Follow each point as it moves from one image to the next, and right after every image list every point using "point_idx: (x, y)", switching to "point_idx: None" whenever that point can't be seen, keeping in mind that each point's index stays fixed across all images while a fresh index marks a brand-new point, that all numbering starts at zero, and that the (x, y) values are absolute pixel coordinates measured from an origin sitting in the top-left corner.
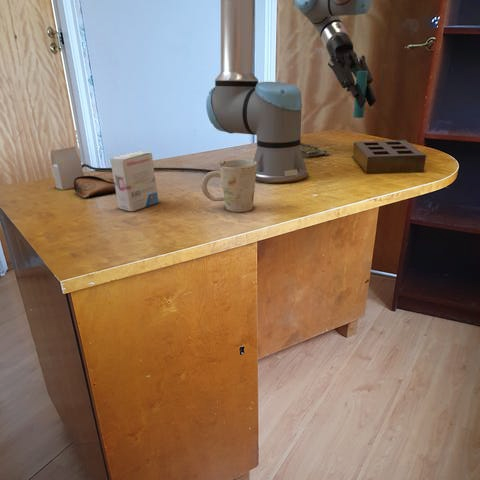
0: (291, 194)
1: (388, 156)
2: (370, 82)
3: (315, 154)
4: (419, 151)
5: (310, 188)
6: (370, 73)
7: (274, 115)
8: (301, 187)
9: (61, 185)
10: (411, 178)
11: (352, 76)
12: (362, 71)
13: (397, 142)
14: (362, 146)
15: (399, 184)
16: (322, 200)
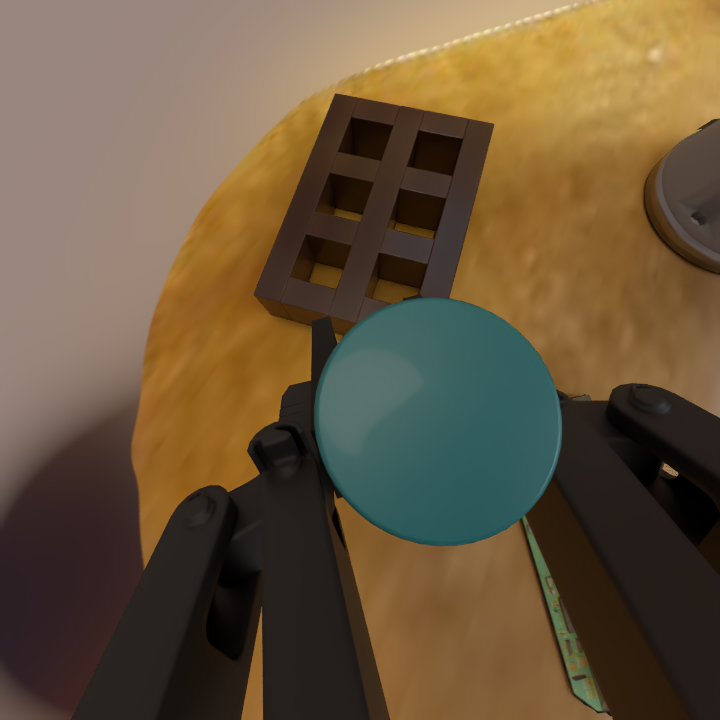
0: (707, 71)
1: (435, 113)
2: (239, 487)
3: None
4: (324, 131)
5: (654, 96)
6: (101, 662)
7: None
8: (674, 108)
9: None
10: (398, 100)
11: (578, 500)
12: (477, 309)
13: (294, 279)
14: (446, 252)
15: (448, 71)
16: (647, 25)
